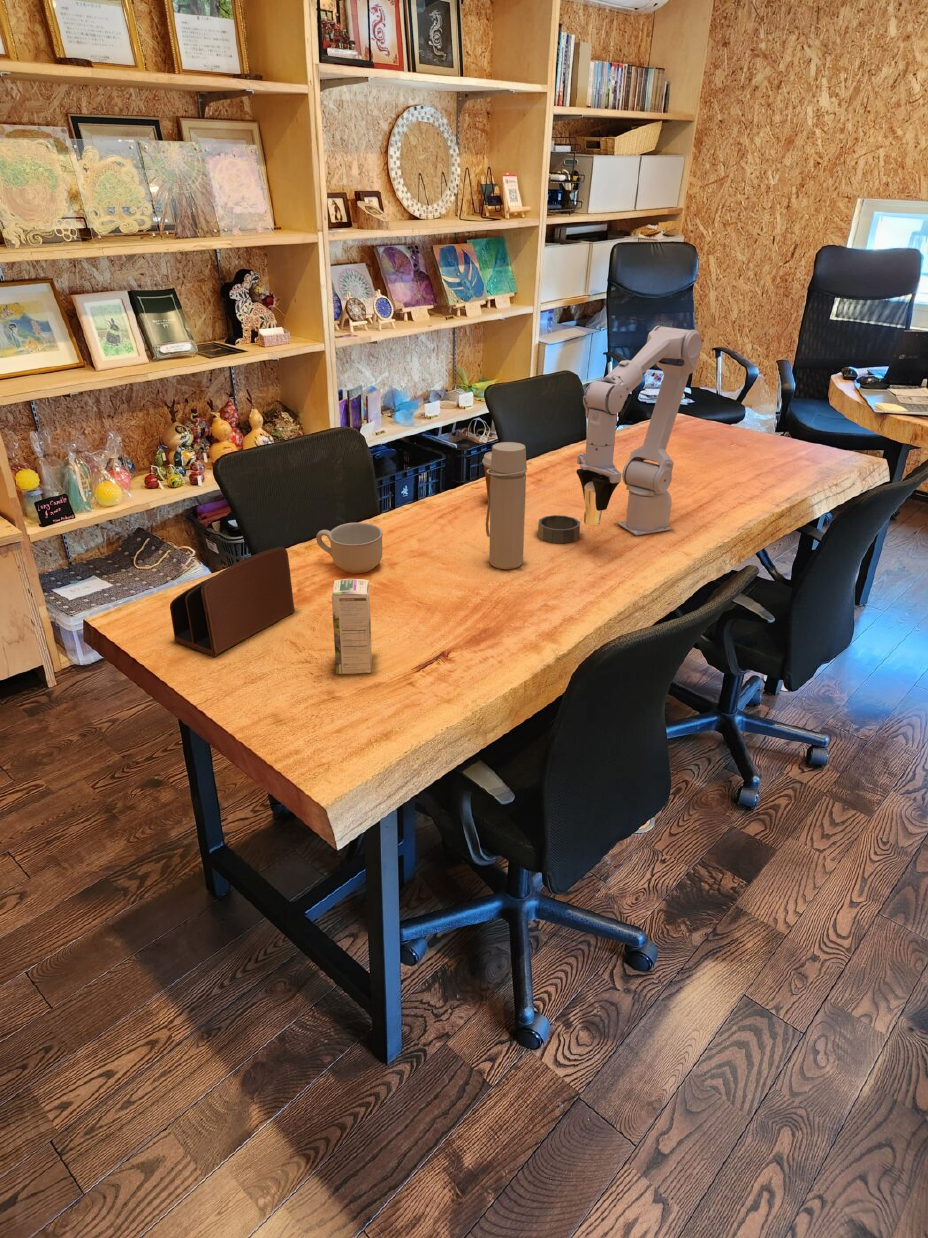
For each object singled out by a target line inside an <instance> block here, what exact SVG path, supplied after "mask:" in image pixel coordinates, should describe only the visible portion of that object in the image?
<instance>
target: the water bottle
mask: <svg viewBox="0 0 928 1238" xmlns="http://www.w3.org/2000/svg"><path fill="white" fill-rule="evenodd" d="M491 449H492V450H491V452H492V457H491V466H490V467H489V468H490V469H488V470H487V471H486V472H487V473H488V474H490V475H491V479H490V489H489V498H488V497H487V508H486V517H485V534H486V537H488V538H489V550H488V551H489V556H488V557H489V558H488V559H489V564H490V565H491V566H493V567H494V568H496V569H500V570H514V569H517V568H519V567H520V566H521V565H523V563H524V546H525V520H526V519H525V518H526V517H525V515H526V491H527V489H526V487H527V474H526V473H527V471H528V465H527V449H526V445H525V444H522V443H520V442H514V441H502V442H497V443H495V444H493V445H492V448H491ZM488 471H490V473H489V472H488Z"/></svg>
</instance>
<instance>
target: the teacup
mask: <svg viewBox="0 0 928 1238" xmlns="http://www.w3.org/2000/svg"><path fill="white" fill-rule="evenodd" d="M323 536H326V537H327V539H328V540H329V543H330V546H328V545H327V544H326V543H325V542H324V541H323V538H322V537H323ZM315 540H316V543H317V546H318V547H319V548H320V549H322V551H324V552H325V553H327V554H329V555H330V557H331V559H332V561H333V563H334V565H336V567H338V568H339V569H340V570H342V571H343V572H346V573H349V574H355V575H356V574H364V573H365V574H366V573H369V572H370V571H372V570H373V569H374V568H375V567H377V566H378V565H379V563H380V562H381V561H382V559H383V558H382V557H383V529H382V528H380V527H379V526H377V525H376V524H373V523H368V522H348V523H343V524H339V525H338V526H336V527H334V528H332V529H331V530H328V529H322V530H319V531H318V532H317V534H316V537H315Z"/></svg>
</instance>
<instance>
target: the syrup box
mask: <svg viewBox="0 0 928 1238" xmlns="http://www.w3.org/2000/svg"><path fill="white" fill-rule="evenodd" d="M332 586H333V587H332V593H331V607H332V624H333V625H332V626H333V642H334V644H333V645H334V658H335V659H334V660H335V673H336V674H337V675H354V674H371V673H372V658H373V650H372V649H373V646H372V645H373V644H372V622H371V621H372V620H371V619H372V618H371V597H370V580H369V579H360V578H345V579H343V578H342V579H336V580H334V581H333V585H332Z"/></svg>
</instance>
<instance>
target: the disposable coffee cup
mask: <svg viewBox="0 0 928 1238" xmlns="http://www.w3.org/2000/svg"><path fill="white" fill-rule="evenodd" d="M491 457H492V451H488V452H485V454H484V455H483V459H482V464H483V467H484V468H483V469H484V477H485V487H486V494H487V499H488V498H489V489H490V479H491V475H490V474H488V473H487V472H486V471H487V470H488V469H490V468H489V467H490V466H491ZM488 472H489V473H490V471H488Z"/></svg>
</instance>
